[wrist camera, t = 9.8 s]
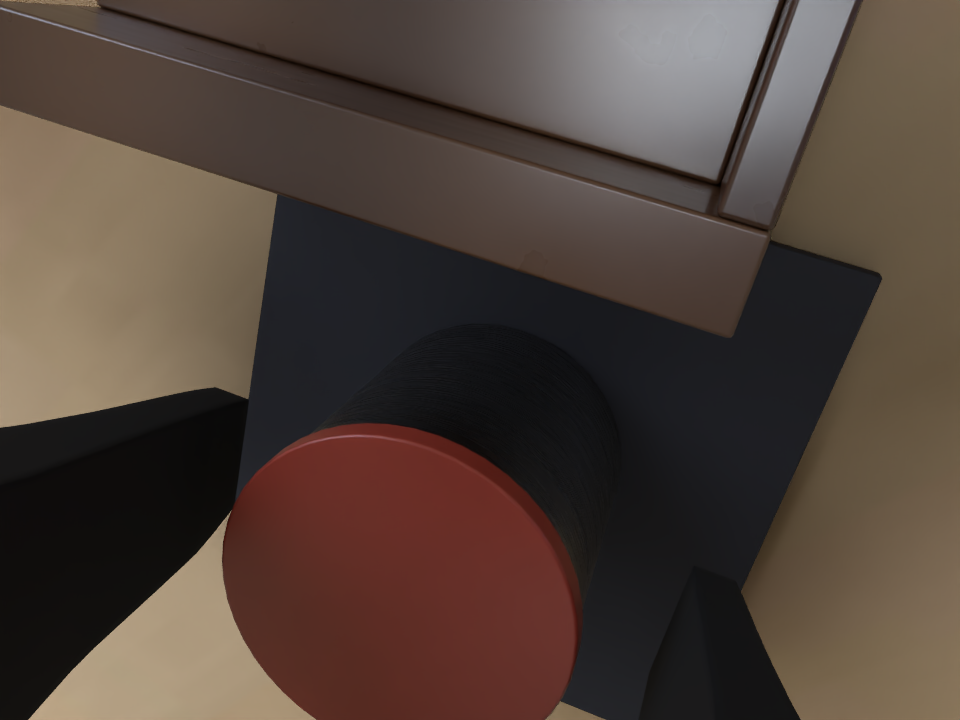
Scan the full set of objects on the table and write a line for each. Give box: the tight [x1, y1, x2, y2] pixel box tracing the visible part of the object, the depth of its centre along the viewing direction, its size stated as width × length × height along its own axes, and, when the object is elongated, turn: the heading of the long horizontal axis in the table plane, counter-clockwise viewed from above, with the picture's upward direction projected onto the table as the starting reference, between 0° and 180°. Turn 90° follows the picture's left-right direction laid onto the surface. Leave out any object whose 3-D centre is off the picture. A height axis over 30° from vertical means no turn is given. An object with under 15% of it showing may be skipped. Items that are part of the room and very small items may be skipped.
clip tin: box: [222, 324, 621, 720], centre depth 13 cm, size 5×5×5 cm
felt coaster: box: [235, 194, 882, 720], centre depth 16 cm, size 10×10×1 cm
